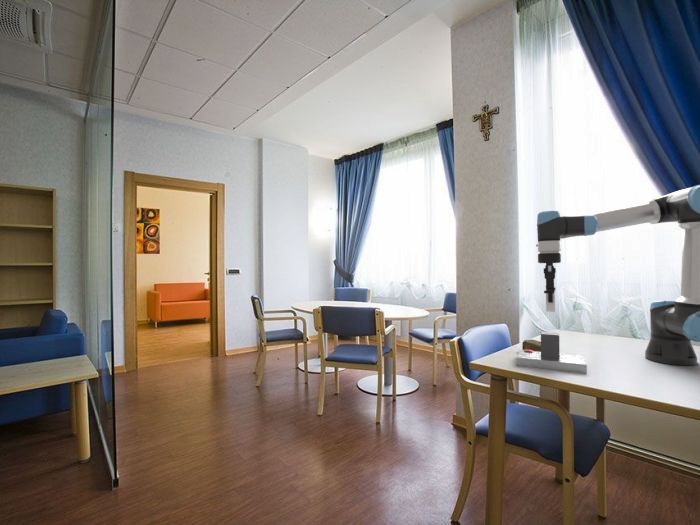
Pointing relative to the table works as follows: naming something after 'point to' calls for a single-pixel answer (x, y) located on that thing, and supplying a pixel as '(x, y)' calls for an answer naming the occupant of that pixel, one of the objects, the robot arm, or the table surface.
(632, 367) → the table surface
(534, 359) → the socket plate
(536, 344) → the stone block
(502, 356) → the table surface
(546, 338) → the plug
